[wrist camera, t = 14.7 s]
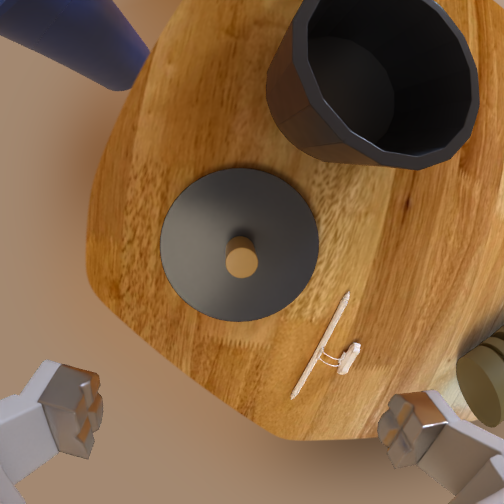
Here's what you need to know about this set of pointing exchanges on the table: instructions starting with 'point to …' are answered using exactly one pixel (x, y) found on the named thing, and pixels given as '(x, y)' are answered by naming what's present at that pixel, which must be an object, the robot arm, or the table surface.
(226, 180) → the tin lid
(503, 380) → the piston
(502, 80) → the table surface
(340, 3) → the tin
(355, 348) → the picture light
